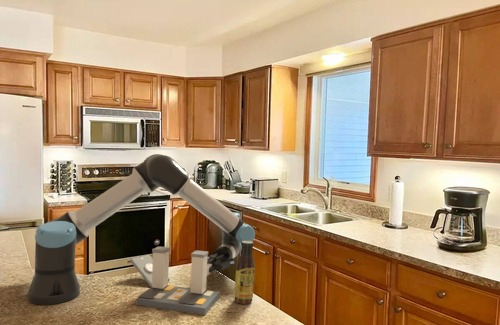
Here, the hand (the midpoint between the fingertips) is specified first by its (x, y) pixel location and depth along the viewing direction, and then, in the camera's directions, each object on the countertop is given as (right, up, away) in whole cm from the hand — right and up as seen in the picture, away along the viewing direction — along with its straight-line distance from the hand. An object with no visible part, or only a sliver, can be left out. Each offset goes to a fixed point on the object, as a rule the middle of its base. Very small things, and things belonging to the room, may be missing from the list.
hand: (203, 273), depth 127 cm
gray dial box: (-22, -7, +13) cm, 27 cm away
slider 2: (-1, -5, -3) cm, 6 cm away
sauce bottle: (+14, -9, -3) cm, 16 cm away
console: (-7, -8, -5) cm, 12 cm away
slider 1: (-15, -5, +1) cm, 16 cm away
